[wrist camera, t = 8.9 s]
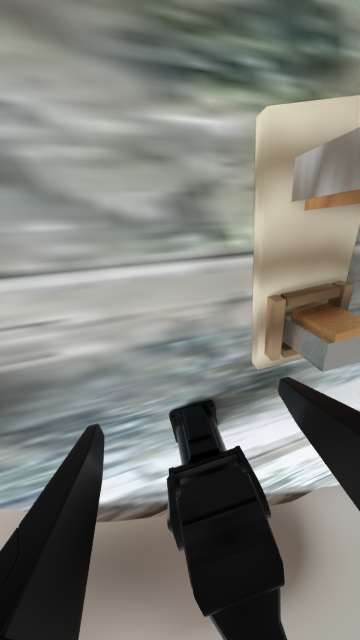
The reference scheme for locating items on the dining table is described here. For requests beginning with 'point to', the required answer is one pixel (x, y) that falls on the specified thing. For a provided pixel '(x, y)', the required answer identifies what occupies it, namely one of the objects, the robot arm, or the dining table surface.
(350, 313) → the white wood-topped block
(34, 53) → the dining table surface
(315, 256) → the cream wooden stand
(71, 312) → the dining table surface
